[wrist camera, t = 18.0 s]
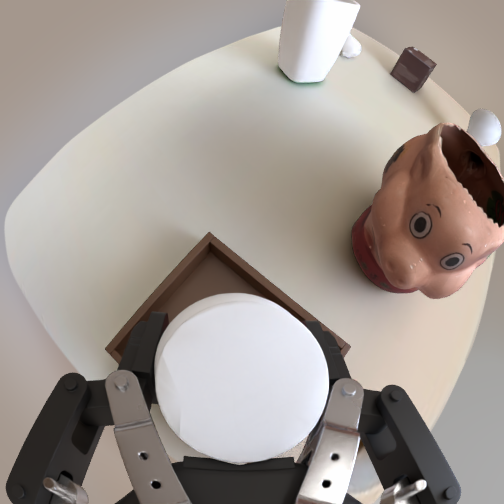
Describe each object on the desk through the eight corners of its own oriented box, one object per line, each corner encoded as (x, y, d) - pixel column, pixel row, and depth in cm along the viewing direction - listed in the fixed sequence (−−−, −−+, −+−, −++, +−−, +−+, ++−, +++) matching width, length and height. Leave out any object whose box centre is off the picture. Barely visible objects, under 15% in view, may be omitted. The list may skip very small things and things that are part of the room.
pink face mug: (390, 155, 30) (448, 82, 17) (452, 220, 28) (524, 170, 15) (299, 262, 24) (379, 176, 11) (387, 348, 22) (507, 338, 9)
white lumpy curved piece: (322, -1, 31) (377, 31, 31) (309, 30, 39) (358, 61, 39) (305, 1, 29) (365, 35, 29) (292, 35, 38) (345, 68, 37)
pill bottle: (293, 367, 17) (388, 393, 7) (220, 419, 15) (224, 514, 5) (238, 295, 18) (266, 230, 8) (164, 346, 16) (87, 350, 6)
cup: (332, 87, 33) (366, 7, 19) (290, 89, 32) (317, -3, 18) (308, 61, 35) (332, -12, 21) (267, 63, 33) (285, -19, 19)
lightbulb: (443, 143, 33) (479, 103, 23) (453, 134, 35) (485, 99, 25) (466, 171, 32) (506, 136, 22) (473, 160, 34) (509, 128, 24)
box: (413, 93, 37) (431, 68, 30) (389, 74, 38) (404, 47, 31) (421, 87, 39) (437, 64, 32) (399, 69, 40) (413, 45, 33)
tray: (118, 348, 20) (104, 349, 17) (210, 244, 24) (209, 231, 21) (248, 452, 18) (252, 467, 15) (335, 346, 22) (351, 346, 19)
